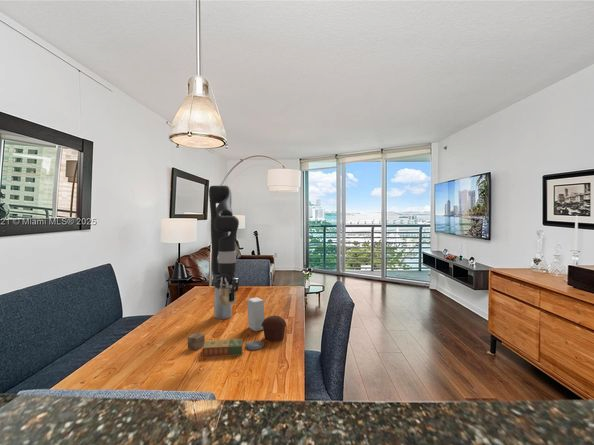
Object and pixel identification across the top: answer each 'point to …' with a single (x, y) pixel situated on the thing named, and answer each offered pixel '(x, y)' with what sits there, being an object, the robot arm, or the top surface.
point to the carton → (222, 348)
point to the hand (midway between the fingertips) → (227, 300)
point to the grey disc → (254, 345)
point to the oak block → (225, 296)
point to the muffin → (273, 328)
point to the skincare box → (255, 313)
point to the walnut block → (196, 341)
